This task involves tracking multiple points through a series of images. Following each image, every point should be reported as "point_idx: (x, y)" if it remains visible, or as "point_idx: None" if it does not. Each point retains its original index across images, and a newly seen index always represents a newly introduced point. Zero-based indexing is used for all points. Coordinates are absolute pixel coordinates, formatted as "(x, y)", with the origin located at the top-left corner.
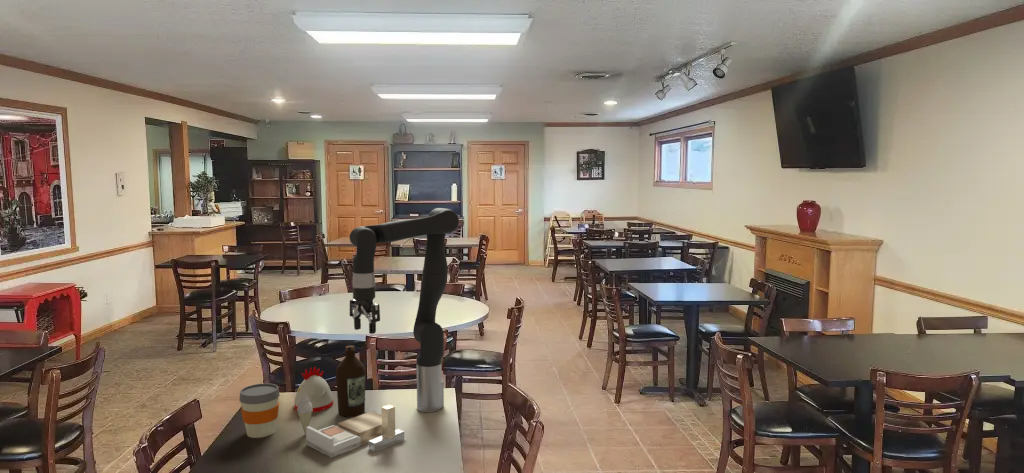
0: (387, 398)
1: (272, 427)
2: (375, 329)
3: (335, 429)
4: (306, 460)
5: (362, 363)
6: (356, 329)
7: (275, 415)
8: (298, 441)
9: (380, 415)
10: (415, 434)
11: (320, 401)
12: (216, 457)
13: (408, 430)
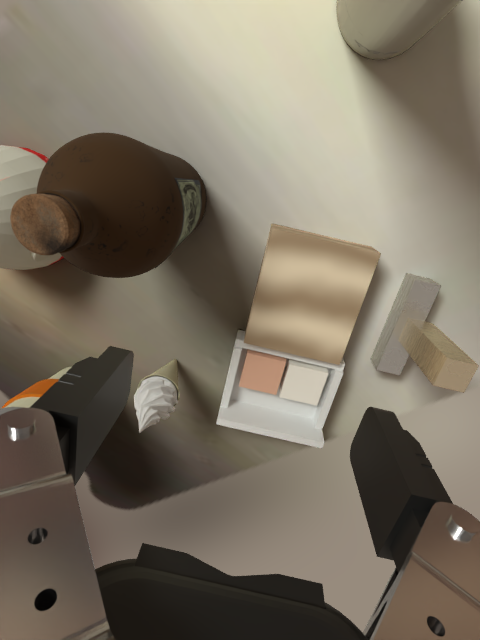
0: (174, 8)
1: None
2: (420, 455)
3: (260, 365)
4: (277, 443)
5: (133, 165)
6: (128, 395)
7: None
8: (192, 392)
9: (320, 245)
10: (444, 234)
11: None
12: (119, 491)
13: (410, 221)
